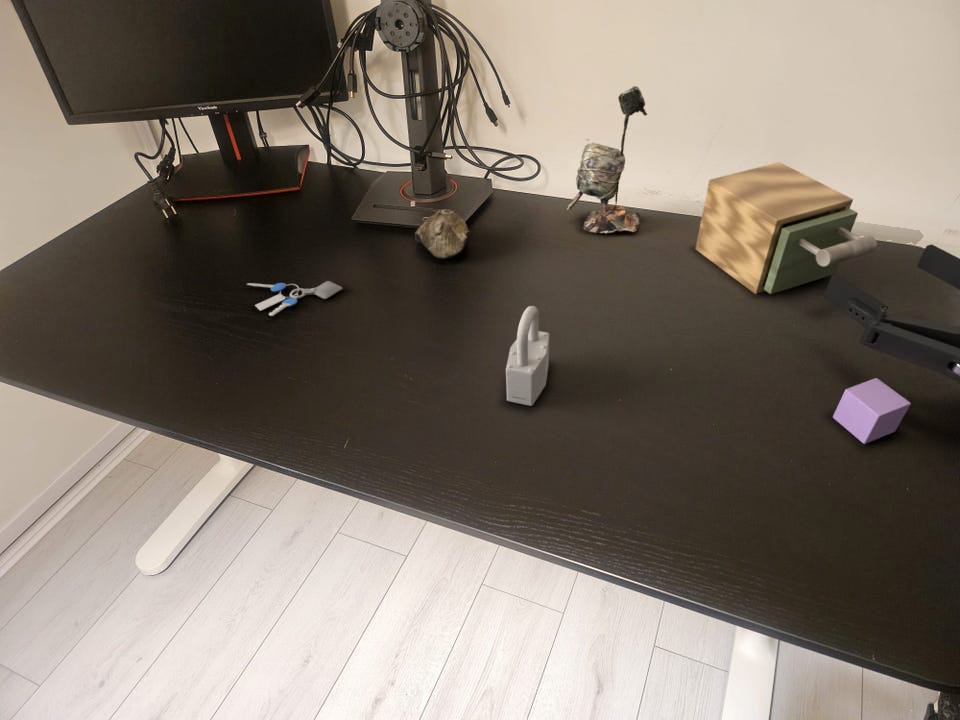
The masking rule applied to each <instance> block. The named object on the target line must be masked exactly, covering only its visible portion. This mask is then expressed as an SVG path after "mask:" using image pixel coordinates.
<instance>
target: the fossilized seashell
mask: <svg viewBox="0 0 960 720" xmlns="http://www.w3.org/2000/svg"><path fill="white" fill-rule="evenodd" d="M470 233H471V231H470V230H469V228H468V225H467V223H466V221H465V219H463V218H462V217H460V216H459V214H458V213H457V212H456V211H455V210H452V209H439V210H438V211H436V212H435V213H433V214H432V215H431V216H429V217H428V218H427V219H426V220H425V221H424V222H423V223H422V224H421V225H420V226H419V227H418V228H417V229H416V231H415V233H414V239H415V242H416V243H420V244H422V245H423V246H424V247H425V249H426V250H427V251H429V253H430V254H432V256H434V257H435V258H436V259H439V260H446V259H452V258H453V257H456V256H457V255H459V254H461V252H463V251H464V249H466V245H467V243H468V240H469V235H470Z"/></svg>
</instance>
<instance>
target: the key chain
mask: <svg viewBox="0 0 960 720" xmlns="http://www.w3.org/2000/svg"><path fill="white" fill-rule="evenodd" d="M246 285H247V286H251V287H259V288H260V287H262V288H269V289H270V291H271V292H273V293H274V292H275V293H276V292H279V293H278V294H276V295H273V296H272V297H270V298H267V299H265V300H263V301H261V302H259V303H256V304H255V305H254V306H255V308H257V310H259V312H260V311H264V310H265V309H267V308H270V307H272V306H274V305H276V304H279V303H280V302H281V304H280V305H279V306H278V307H276V308H274V309H273V310H272V311H269V312H268V315H269V316H270V317H274V316H275V315H277V314H278V313H280V312H281V311H283V310H284V309H285V308H287V307H293V306H295V305H296V304H297V303H298V299H301V298H303V297H305V296H310V295H312V296H313V295H316V296H317V297H319V298H320V299H323V300H326V299H329V298H330V297H332V296H333V295H335V294H337V293H339V292H340V291H341V290H343V286H341V285H338V284H336V283H335V282H333V281H330V280H326V281H325V282H323V283H321V284H320V285H318V286H316V287H312V288H311V287H310V288H301V287H299V285H297V284H295V283H288V284H286V283H284V282H277V283H275V284H263V283H254V282H253V283H252V282H248V283H246ZM291 285H292V286H295V287H297V288H294V289H292V290H291V291H290V293H289V296H284V295H283V294H282V291H283V290H284V289H286V288H287V286H291ZM300 291H301V294H300V295H299V292H300ZM294 293H295V294H294Z"/></svg>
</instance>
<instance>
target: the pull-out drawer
mask: <svg viewBox="0 0 960 720" xmlns="http://www.w3.org/2000/svg"><path fill="white" fill-rule="evenodd" d="M835 211H836V209H835V210H832V211H828V212H825V213H821V214H817V215H814V216H810V217H807V218H803V219H800V220H796V221H793V222H789V223H786V224H782V225H780V228H779V231H778V235H777V238H776V242H775V245H774V248H773V252H772V255H771V258H770V262H769V265H768V269H767V272H766V275H765V279H764V280H766V279H767V281H766V284H765V288H764V290H765V291H764V292H767V293H768V294H770V295H772V294H775V293H779V292H782V291H785V290H789V289H791V288H794V287H797V286H802V285H804V284H807V283H810V282H814V281H817V280H821V279H823V278H826V277H829V276H834V275H836V272H837V270H838V266H839V264H840V263H841V262H844V261H848V260H851V259H854V258H857V257H860V256H864V255H866V254H869V253H873V252H875V250H876V249H877V247H878V243H877V239H876V238H875V237H874V236H872V235H864V236H862V237H860V236H858V235H857V234H855V233H853V232H852V230H853V229H854V228H853V227H854V224H855V223H856V220H857V217H858V215H859V212H857V211H855V210H854V209H851V208H850V209H848V210H845V211H841V212H838V213H835Z"/></svg>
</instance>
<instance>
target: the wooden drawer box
mask: <svg viewBox="0 0 960 720" xmlns="http://www.w3.org/2000/svg"><path fill="white" fill-rule="evenodd" d="M853 201H854V198H851V197H849V196H848V195H846V194H844V193H842V192H839V191H838V190H836V189H834V188H832V187H830V186H828V185H826V184H824V183H822V182H820V181H818V180H817V179H814V178H812V177H810V176H808V175H806V174H805V173H803V172H800V171H798V170H796V169H794V168H792V167H790V166H788V165H786V164H784V163H783V162H781V161H778V162H775V163H770V164H767V165H763V166H758V167H755V168H750V169H747V170H743V171H739V172H735V173H730V174H726V175H722V176H719V177H716V178H711V179H709V180H708V185H707V190H706V195H705V200H704V204H703V208H702V209H703V210H702V215H701V219H700V224H699V229H698V234H697V239H696V244H695V248H694V250H696V251H697V252H698V253H700V254H701V255H702V256H703V257H705V258H706V259H707V260H709V261H710V262H712V263H713V264H714V265H716V266H717V267H718V268H719V269H721V270H723V272H725V273H726V274H728V275H729V276H730V277H732V278H733V279H734V280H736V281H737V282H738V283H740V284H741V285H742V286H744V287H745V288H746V289H747V290H749V291H750V292H752V293H753V294H754V295H757V294H761V293H764V292H766V291H765V290H764V288H765V284H766V281H767V279H766V280H764V279H765V275H766V272H767V269H768V265H769V262H770V258H771V255H772V252H773V248H774V245H775V242H776V238H777V235H778V231H779V228H780V225H782V224H786V223H789V222H793V221H796V220H800V219H803V218H807V217H810V216H814V215H817V214H821V213H825V212H828V211H832V210H835V209H836V211H835V213H838V212H841V211H845V210H848V209H851V206H852V203H853Z"/></svg>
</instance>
